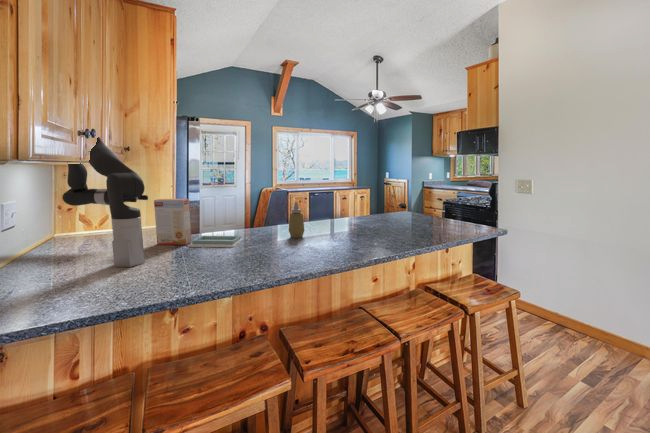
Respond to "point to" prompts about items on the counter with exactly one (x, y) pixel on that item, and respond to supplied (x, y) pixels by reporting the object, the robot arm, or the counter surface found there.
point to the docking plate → (216, 241)
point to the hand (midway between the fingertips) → (142, 198)
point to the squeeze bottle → (296, 222)
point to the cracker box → (172, 221)
